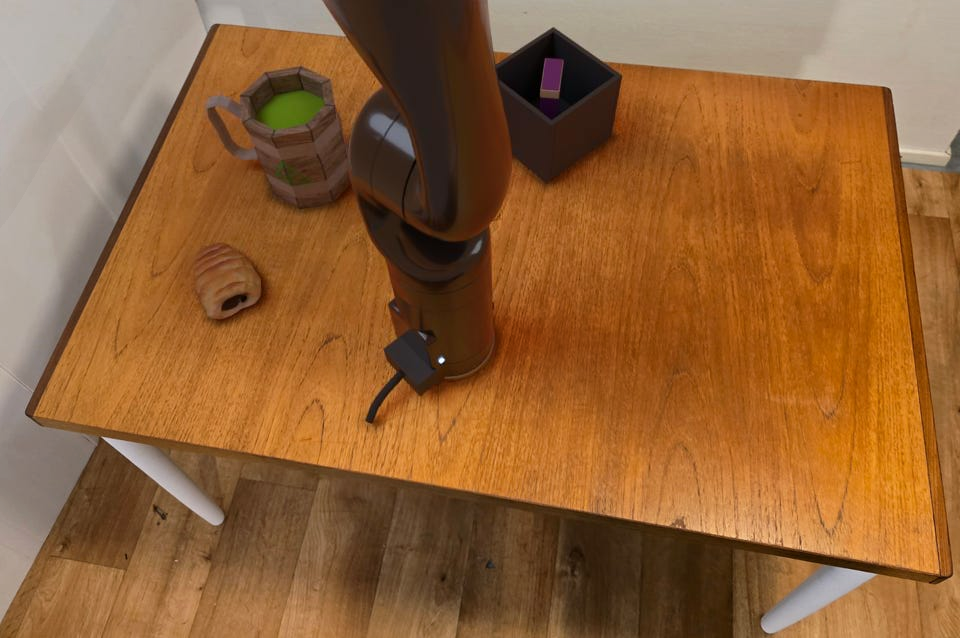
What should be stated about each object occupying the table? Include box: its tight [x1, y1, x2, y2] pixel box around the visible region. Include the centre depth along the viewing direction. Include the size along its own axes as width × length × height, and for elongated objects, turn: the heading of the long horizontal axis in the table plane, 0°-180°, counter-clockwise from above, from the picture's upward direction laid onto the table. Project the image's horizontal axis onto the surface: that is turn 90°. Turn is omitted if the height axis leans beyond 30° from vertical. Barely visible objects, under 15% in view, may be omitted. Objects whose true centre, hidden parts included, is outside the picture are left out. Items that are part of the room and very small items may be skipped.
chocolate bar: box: [540, 58, 563, 120], centre depth 88 cm, size 2×5×9 cm, turn 171°
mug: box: [205, 65, 351, 209], centre depth 86 cm, size 16×11×12 cm
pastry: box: [192, 241, 262, 320], centre depth 82 cm, size 9×7×4 cm
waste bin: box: [495, 26, 623, 184], centre depth 89 cm, size 11×11×10 cm
